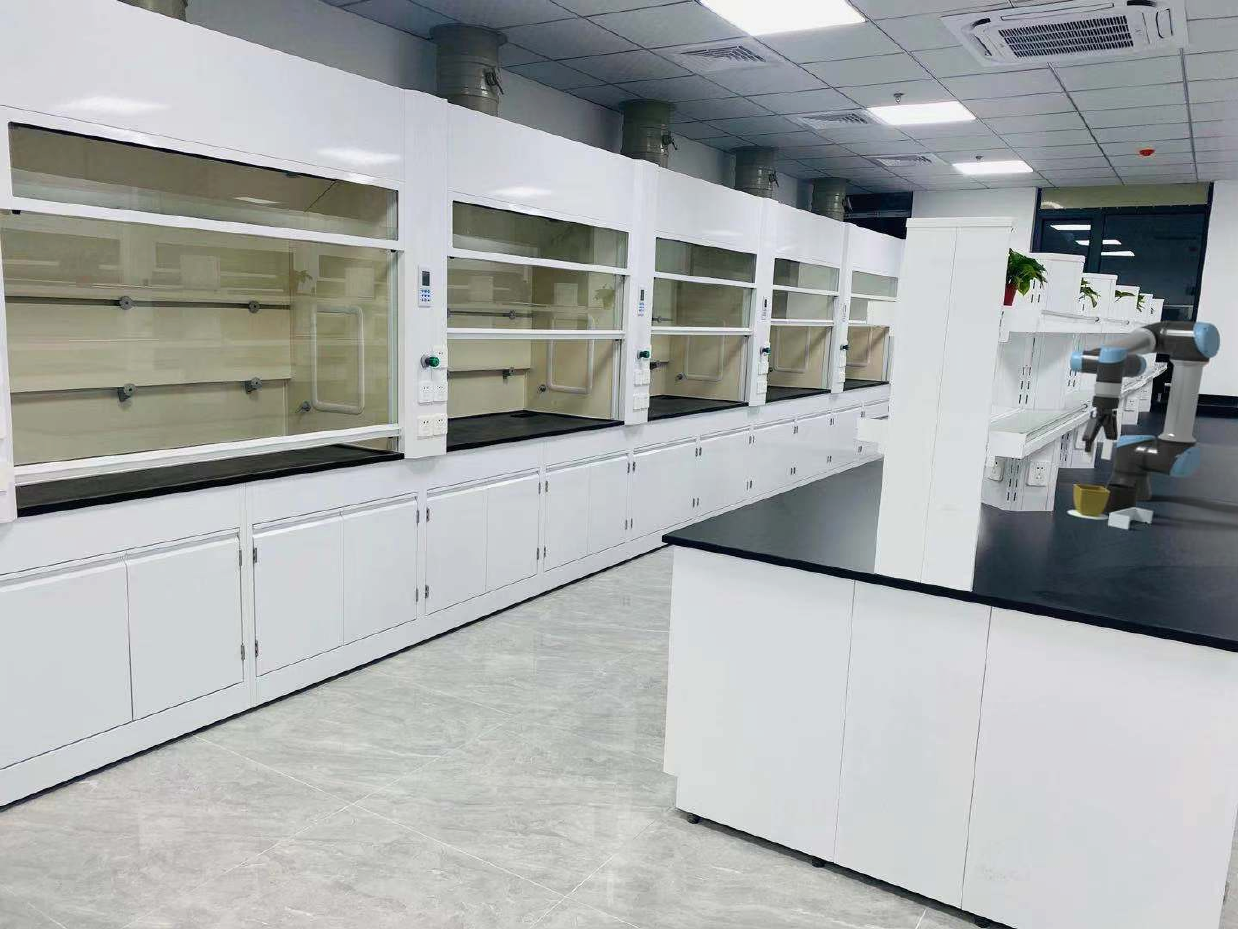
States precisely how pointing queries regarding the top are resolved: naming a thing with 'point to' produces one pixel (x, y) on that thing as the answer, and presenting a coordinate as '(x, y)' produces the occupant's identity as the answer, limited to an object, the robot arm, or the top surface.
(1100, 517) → the pad
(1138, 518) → the bracket
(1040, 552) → the top surface
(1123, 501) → the mug
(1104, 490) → the flower pot
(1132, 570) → the top surface
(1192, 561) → the top surface
